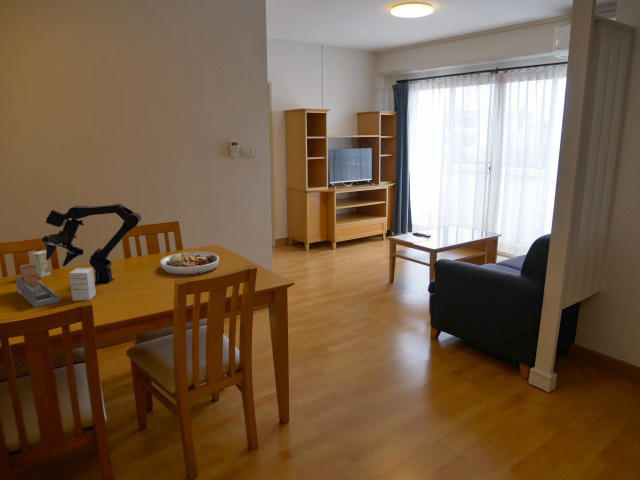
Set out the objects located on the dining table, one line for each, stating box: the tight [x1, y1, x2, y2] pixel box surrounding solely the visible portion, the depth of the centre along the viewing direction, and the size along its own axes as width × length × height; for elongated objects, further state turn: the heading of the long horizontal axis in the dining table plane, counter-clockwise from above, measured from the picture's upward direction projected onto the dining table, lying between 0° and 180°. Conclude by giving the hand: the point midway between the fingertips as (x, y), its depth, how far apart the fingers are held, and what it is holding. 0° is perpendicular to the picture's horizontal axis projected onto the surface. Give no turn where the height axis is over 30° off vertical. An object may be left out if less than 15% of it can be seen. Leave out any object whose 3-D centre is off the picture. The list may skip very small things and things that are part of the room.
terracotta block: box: [19, 262, 39, 288], centre depth 206 cm, size 5×5×10 cm
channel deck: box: [15, 276, 61, 308], centre depth 200 cm, size 26×10×7 cm, turn 46°
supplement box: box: [68, 267, 97, 302], centre depth 199 cm, size 7×7×13 cm
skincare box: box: [31, 250, 51, 279], centre depth 227 cm, size 6×4×12 cm
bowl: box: [160, 251, 220, 276], centre depth 245 cm, size 30×30×8 cm
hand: (55, 262), depth 212 cm, fingers open, 9 cm apart
